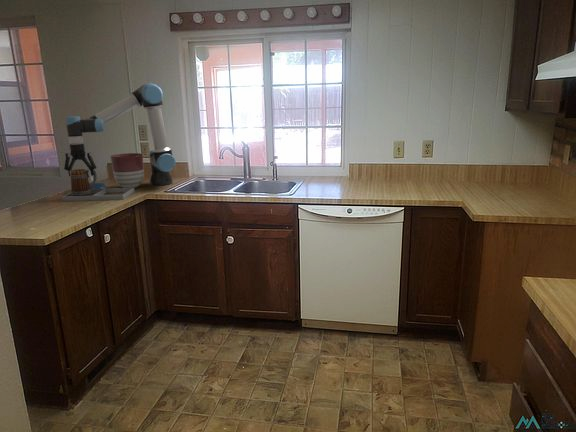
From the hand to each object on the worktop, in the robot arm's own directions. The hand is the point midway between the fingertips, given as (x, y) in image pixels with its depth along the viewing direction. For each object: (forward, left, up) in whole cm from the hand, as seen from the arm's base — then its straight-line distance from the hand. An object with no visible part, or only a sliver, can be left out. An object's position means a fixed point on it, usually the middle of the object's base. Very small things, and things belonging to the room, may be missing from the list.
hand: (82, 181), depth 253 cm
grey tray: (-9, 0, -9) cm, 13 cm away
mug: (-1, 0, -8) cm, 8 cm away
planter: (-20, -23, -10) cm, 32 cm away
